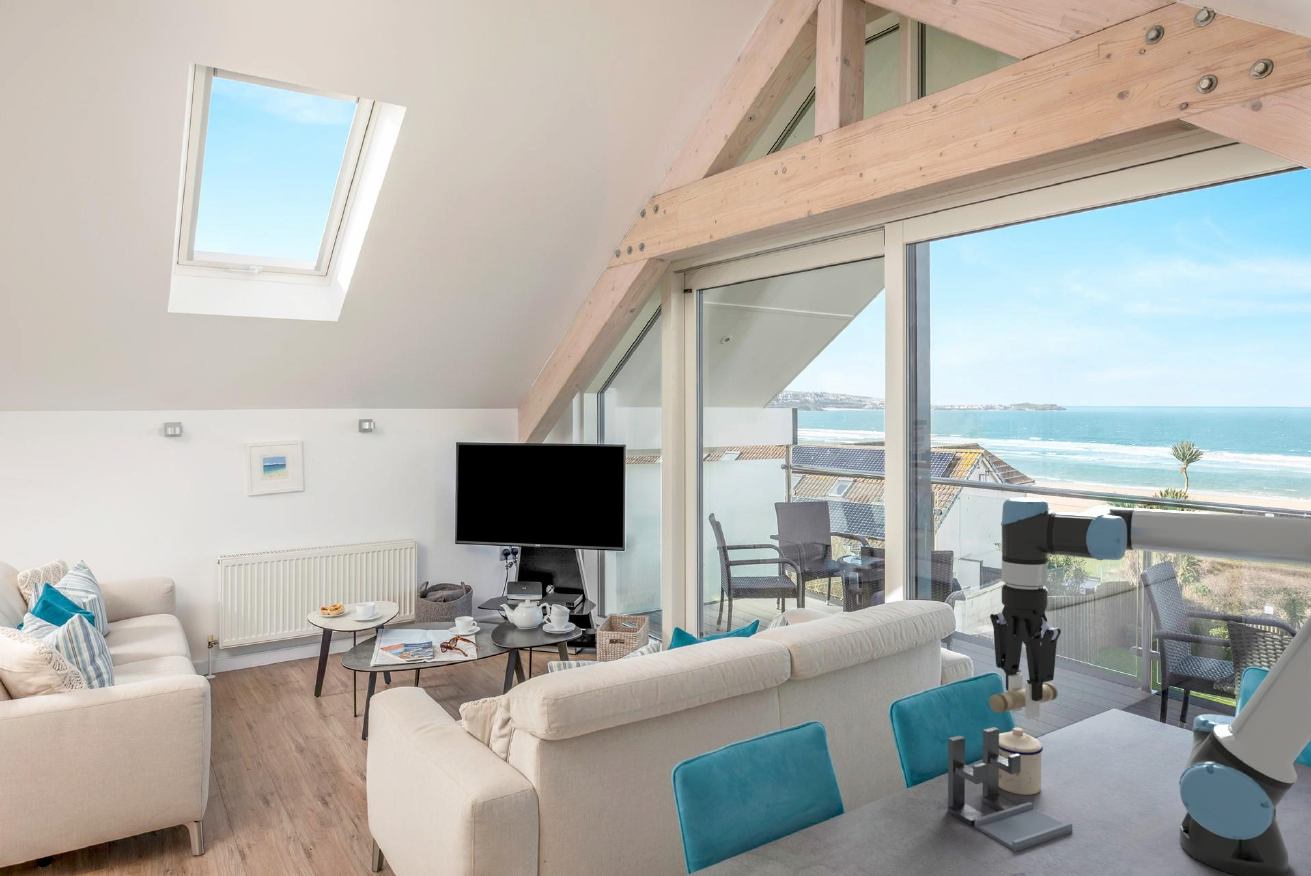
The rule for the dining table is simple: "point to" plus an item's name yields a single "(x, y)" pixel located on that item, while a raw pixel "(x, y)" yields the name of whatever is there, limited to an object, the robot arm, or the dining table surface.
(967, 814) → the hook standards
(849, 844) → the dining table surface
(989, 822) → the tray
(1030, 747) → the teacup with lid
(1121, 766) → the dining table surface
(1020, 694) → the wooden cylinder
